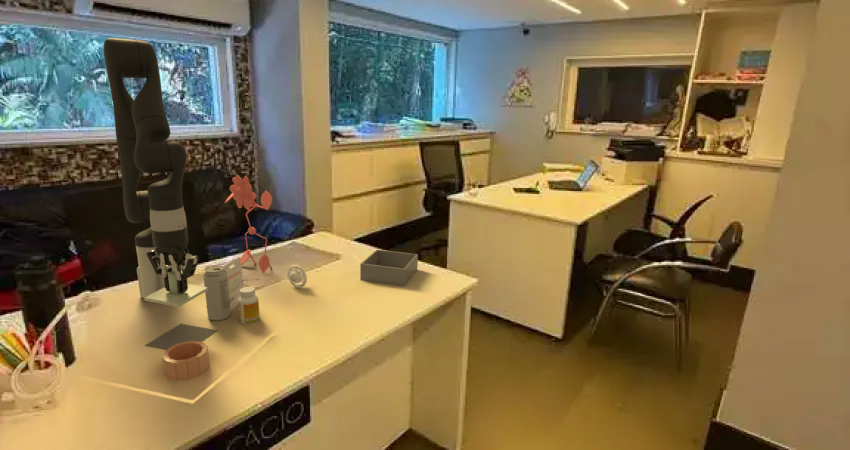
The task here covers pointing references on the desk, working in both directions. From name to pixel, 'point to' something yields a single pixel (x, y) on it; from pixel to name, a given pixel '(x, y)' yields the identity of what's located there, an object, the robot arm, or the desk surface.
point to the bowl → (185, 360)
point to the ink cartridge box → (234, 281)
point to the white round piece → (297, 276)
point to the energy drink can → (217, 293)
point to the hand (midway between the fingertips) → (176, 290)
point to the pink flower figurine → (244, 197)
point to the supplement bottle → (248, 306)
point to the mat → (181, 336)
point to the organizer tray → (389, 274)
